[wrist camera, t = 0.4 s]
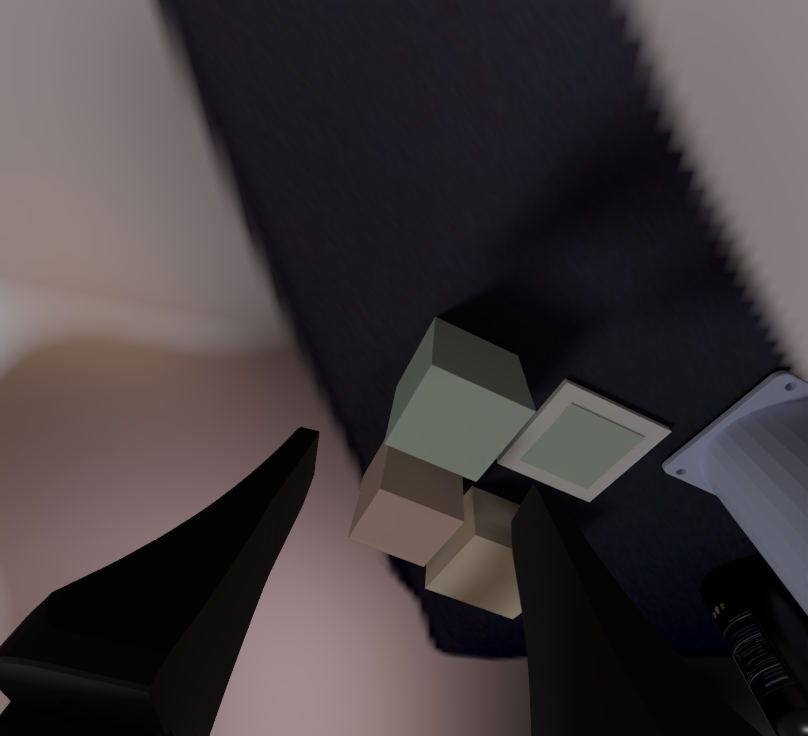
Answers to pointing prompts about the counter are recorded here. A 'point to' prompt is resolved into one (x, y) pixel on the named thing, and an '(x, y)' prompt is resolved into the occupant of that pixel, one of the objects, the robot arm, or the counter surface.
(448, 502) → the terracotta block
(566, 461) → the card
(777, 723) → the supplement bottle
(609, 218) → the counter surface
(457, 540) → the maple block
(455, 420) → the sage block
